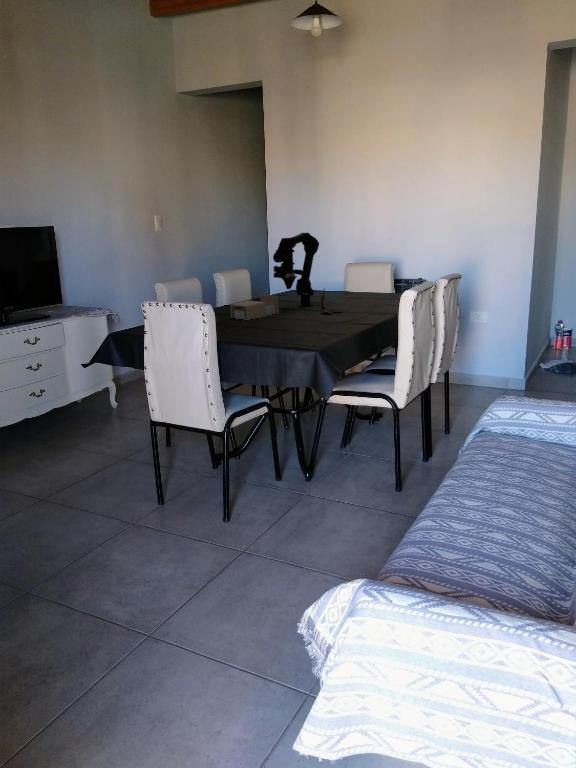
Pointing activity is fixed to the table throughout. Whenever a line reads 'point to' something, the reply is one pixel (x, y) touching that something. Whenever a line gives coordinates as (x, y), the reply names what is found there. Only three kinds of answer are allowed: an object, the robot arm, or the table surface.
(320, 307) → the butterfly
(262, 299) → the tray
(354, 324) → the table surface
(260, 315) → the sleeve
